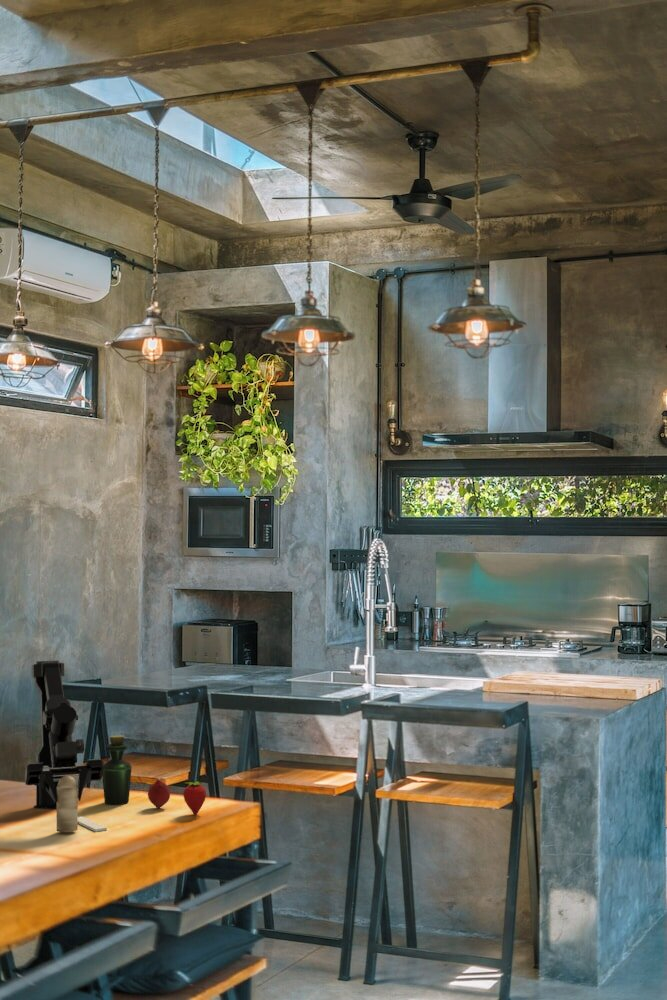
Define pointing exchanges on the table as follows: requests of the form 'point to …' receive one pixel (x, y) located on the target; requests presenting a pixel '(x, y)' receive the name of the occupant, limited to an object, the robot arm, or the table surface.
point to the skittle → (67, 804)
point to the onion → (159, 793)
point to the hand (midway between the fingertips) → (67, 800)
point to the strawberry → (194, 796)
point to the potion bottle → (116, 774)
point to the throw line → (91, 824)
